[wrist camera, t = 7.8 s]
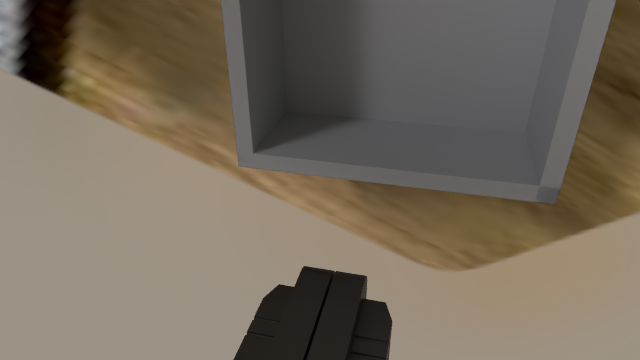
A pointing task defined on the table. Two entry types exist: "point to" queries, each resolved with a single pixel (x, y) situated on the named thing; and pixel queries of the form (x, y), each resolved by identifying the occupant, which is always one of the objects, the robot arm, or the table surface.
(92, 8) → the table surface
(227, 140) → the table surface
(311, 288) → the robot arm
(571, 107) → the tray
